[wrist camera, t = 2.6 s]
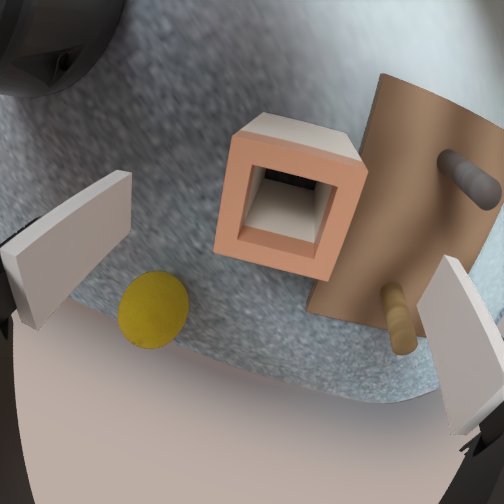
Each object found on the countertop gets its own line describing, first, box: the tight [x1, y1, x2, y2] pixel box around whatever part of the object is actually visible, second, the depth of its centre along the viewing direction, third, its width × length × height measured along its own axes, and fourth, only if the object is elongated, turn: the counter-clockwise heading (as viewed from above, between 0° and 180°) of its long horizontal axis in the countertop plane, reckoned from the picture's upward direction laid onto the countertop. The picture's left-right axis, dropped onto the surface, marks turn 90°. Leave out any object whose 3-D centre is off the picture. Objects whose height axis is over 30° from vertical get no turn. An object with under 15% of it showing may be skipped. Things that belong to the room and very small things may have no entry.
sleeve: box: [213, 112, 368, 282], centre depth 17 cm, size 6×6×9 cm
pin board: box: [306, 74, 504, 355], centre depth 19 cm, size 12×19×7 cm, turn 169°
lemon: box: [118, 271, 189, 349], centre depth 25 cm, size 6×6×8 cm
